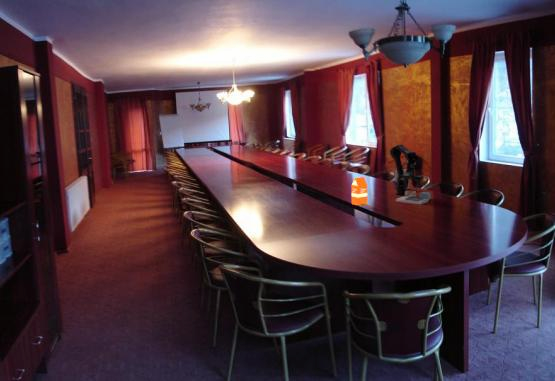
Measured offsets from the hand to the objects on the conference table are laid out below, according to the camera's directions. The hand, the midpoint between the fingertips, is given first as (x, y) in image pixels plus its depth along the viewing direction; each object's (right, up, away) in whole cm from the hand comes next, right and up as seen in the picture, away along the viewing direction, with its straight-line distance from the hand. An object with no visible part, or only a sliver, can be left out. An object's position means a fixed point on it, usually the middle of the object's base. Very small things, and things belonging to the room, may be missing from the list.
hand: (410, 188), depth 371 cm
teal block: (+9, -8, -7) cm, 14 cm away
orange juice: (-42, -12, -15) cm, 46 cm away
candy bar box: (+3, 0, +39) cm, 39 cm away
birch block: (0, -7, +1) cm, 7 cm away
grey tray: (-3, -10, -14) cm, 17 cm away
